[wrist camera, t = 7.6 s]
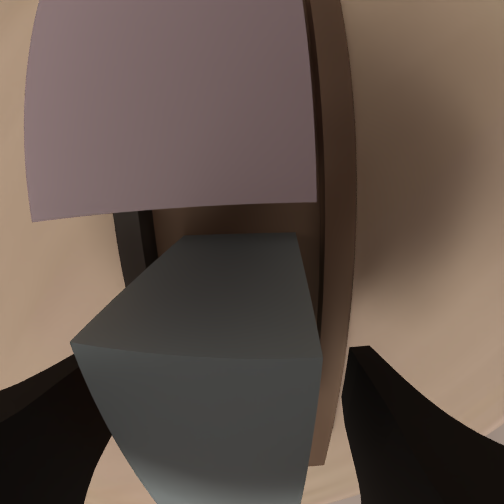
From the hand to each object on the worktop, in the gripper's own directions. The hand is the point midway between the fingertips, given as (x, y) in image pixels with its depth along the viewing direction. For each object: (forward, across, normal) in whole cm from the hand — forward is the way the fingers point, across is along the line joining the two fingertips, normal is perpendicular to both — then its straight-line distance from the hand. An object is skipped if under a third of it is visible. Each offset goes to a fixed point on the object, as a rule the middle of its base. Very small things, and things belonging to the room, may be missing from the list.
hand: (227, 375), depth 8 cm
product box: (+3, 0, 0) cm, 3 cm away
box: (+3, 0, -9) cm, 10 cm away
